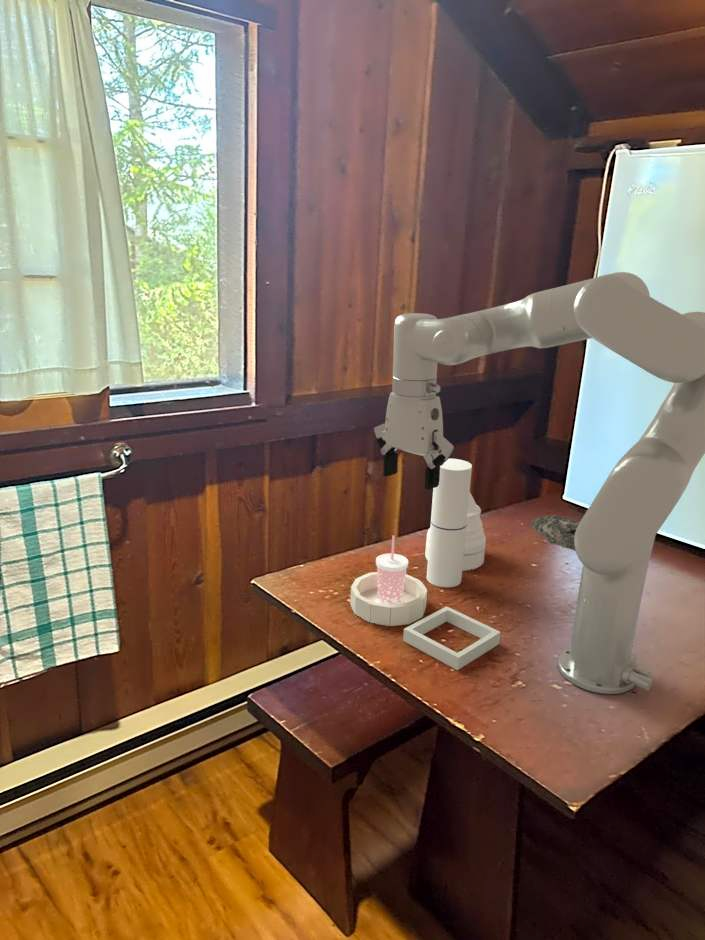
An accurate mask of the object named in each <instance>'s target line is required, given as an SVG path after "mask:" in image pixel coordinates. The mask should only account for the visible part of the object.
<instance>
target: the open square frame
mask: <svg viewBox="0 0 705 940" xmlns="http://www.w3.org/2000/svg"><path fill="white" fill-rule="evenodd" d="M446 622H447V623H449V624H450V625H453V626H454V627H457V628H459V629H461V630H463V631H465V632H467V633H469V634H470V635H473V636H475V637H477V638H479V639H478V640H477V641H475V642H474V643H471V644H470V645H468V646H467V647H465V648H464V649H462V650H460V651H458V652H457V651H454V650H452V649H450V648H449V647H447V646H444V645H443V644H441V643H439V642H437V641H436V640H434V639H431V638H430V637H428V636H426V635H424V634H426V633H428V632H430V631H432V630H433V629H436V628H438V627H439V626H441V625H443V624H445V623H446ZM501 634H502V633H501V631H499V630H497V629H495V628H493V627H491V626H489V625H487V624H484V623H482V622H481V621H478V620H477V619H474V618H472V617H470V616H467V615H465V614H464V613H461V612H459V611H458V610H456V609H453V608H451V607H449V606H444V607H442V608H441V609H439V610H437V611H435V612H433V613H431V614H430V615H427V616H425V617H424V618H423V617H422V618H421V619H419V620H417V621H415V622H414V623H413V624H412V623H411V624H409V625H407V627H405V628H403V636H402V637H403V638H402V641H403V642H405V643H407V644H409V645H410V646H412V647H413V648H416V649H417V650H419V651H421V652H423V653H425V654H427V655H428V656H430V657H433V659H436V660H438V661H439V662H442V663H443V664H445V665H446V666H449V667H450V668H453V670H456V671H459V670H460V669H462V668H464V667H465V666H467V665H469V664H470V663H471V662H473V661H475V660H476V659H478V658H479V657H481V656H482V655H484V654H486V653H487V652H489V651H490V650H492V649H493V648H496V647H497V646H498V645H499V644H500V643H501V642H500V641H501V640H500V639H501Z"/></svg>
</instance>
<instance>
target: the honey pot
mask: <svg viewBox="0 0 705 940" xmlns="http://www.w3.org/2000/svg"><path fill="white" fill-rule="evenodd" d="M481 514H482V509H481V506H479V505H477V503H476V501H475V499H474V497H473V495H472V493H471V492H470V493H469V504H468V515H467V525H466V536H465V547H464V557H463V568H462V572H463V571H471V569H472V570H475V569H477V568H479V567H481V566H482V565H483V564H484V561H485V555H486V554H485V552H486V544H487V543H486V542H487V537H486V535H485V529H484V528H483V527H484V526H483V525H484V524H483V521H482V520H481V516H480V515H481ZM429 539H430V528H428V530H427V533H426V539H425V540H426V542H425V552H424V554H425V555H424V556H425V559H426V560H427V561H428V552H429Z"/></svg>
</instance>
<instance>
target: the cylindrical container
mask: <svg viewBox="0 0 705 940" xmlns="http://www.w3.org/2000/svg"><path fill="white" fill-rule="evenodd" d="M472 470H473V465H472V463H470V462H469V461H466V460H465V459H464V460H463V459H459V458H449V459H448V460H447V461H446V462H444V464H443V465H442V466H440V480H439V485H438V487H435V488H432V490H433V491H432V500H431V501H432V503H431V514H430V527H429V529H430V539H429V552H428V560H427V567H426V581H428V583H430V584H431V585H433V586H436V587H439V588H453V587H457V586H459V585H460V584H461V583H462V579H463V578H462V577H463V571H462V568H463V557H464V547H465V536H466V525H467V515H468V504H469V493H471V480H472Z"/></svg>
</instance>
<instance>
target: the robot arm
mask: <svg viewBox="0 0 705 940" xmlns="http://www.w3.org/2000/svg"><path fill="white" fill-rule="evenodd" d="M648 288H649V287H648V286H647V284H646V282H645V281H644V280H643V279H642V278H641V277H639V276H638V275H636V274H634V273H631V272H625V271H619V272H618V271H617V272H613V273H608V274H604V275H599V276H596V277H593V278H589V279H584V280H581V281H578V282H577V281H576V282H574V283H569V284H566V285H561V286H558V287H554V288H549V289H544V290H542V291H541V290H540V291H537V292H533V293H531V294H529V295H527V296H525V297H524V298H522V299H520V300H516V301H514V302H510V303H506V304H502V305H498V306H495V307H494V306H493V307H491V308H487V309H482V310H479V311H478V310H477V311H473V312H468V313H465V314H463V313H462V314H459V315H455V316H450V317H447V318H439V319H438V317H436V316H435V315H433V314H429V313H423V312H422V313H421V312H420V313H419V312H417V313H416V312H410V313H401V314H400V315H398V316H396V318H395V320H394V326H393V354H392V356H393V357H392V358H393V359H392V383H391V384H392V386H391V387H392V390H391V392H390V394H389V397H388V401H387V406H386V413H385V422H384V423H382V424H379V425H377V426H375V427H374V428H373V431H374V434H375V437H376V438H377V440H376V444H378V447H380V453H381V455H383V471H382V475H383V476H384V477H385V478H386V477H390V476H393V475H396V474H397V473H398V465H399V464H398V463H399V462H398V461H399V454H398V452H397V451H396V450H399V451H404V452H406V453H407V452H408V453H410V454H413V455H417V456H423V459H424V461H425V463H426V464H427V467H426V468H425V472H424V474H425V475H424V489H425V490H427V491H430V490H433V488H435V487H438V485H439V480H440V466H442V465H443V464H444V462H446V461H447V460H448V459H450V456H451V454H452V453H453V450H454V449H455V448H454V445H453V444H452V443H451V442H450V441H449V440H448V439H446V437H445V436H444V421H443V409H442V403H441V397H440V396H437V394H439V392H441V386H440V385H439V384H437V376H438V375H437V372H438V364H440V365H444V366H445V365H446V366H455V365H456V366H457V365H459V364H462V363H466V362H468V361H470V360H473V359H476V358H480V357H482V356H486V355H491V354H494V353H500V352H504V351H509V350H513V349H514V350H515V349H520V348H527V347H533V348H535V349H536V348H537V349H548V348H551V347H552V348H553V347H557V346H561V345H567V344H570V343H576V342H580V341H585V340H590V339H593V340H594V341H596V342H598V343H599V344H601V345H602V346H603V347H605V348H608V350H610V351H611V352H613V353H615V354H617V355H619V356H620V357H622V358H623V359H625V360H627V361H628V362H631V363H632V364H634V365H635V366H637V367H638V368H641V370H643V371H645V372H647V373H649V374H650V375H652V376H654V377H656V378H658V379H660V380H663V381H665V382H669V383H672V384H673V385H672V387H671V389H670V391H669V392H668V394H667V396H666V397H665V398H664V400H663V401H662V403H661V405H660V407H659V408H658V410H657V413H656V414H655V416H654V417H653V419H652V421H650V424H649V425H648V427H647V428H646V430H645V431H644V432H643V434H642V436H641V437H640V438H639V440H638V441H637V442H635V444H634V445H632V446H631V448H629V449H628V450H627V452H625V454H624V455H623V456H622V457H621V458H620V459H619V460H618V462H617V463H616V464H615V465H614V467H613V468H612V470H611V472H610V473H609V474H608V476H607V478H606V479H605V481H604V482H603V484H602V486H601V488H600V489H599V491H598V492H597V494H596V496H595V498H593V500H592V502H591V504H590V505H589V506H588V508H587V510H586V512H585V514H584V515H583V516H582V518H581V520H580V521H579V522H578V523H579V525H578V527H577V529H576V532H575V536H574V546H575V553H576V556H577V558H578V559H579V561H580V563H581V564H582V569H581V576H580V582H579V587H578V593H577V594H578V595H577V601H576V606H575V614H574V621H573V627H572V633H571V640H570V646H569V647H568V648H566V649H565V650H563V651H562V652H561V653H560V655H559V657H558V662H557V667H558V670H559V672H560V673H561V675H562V676H563V677H564V678H565V679H566V680H568V681H569V682H570V683H572V684H573V685H574V686H577V687H579V688H581V689H583V690H586V691H589V692H593V693H597V694H604V695H616V694H623V693H625V692H628V691H630V690H632V689H633V688H634V687H635V686H636V687H637V688H641V689H643V690H644V691H647V692H648V691H650V689H651V688H652V685H653V683H654V681H653V679H652V678H651V677H652V671H650V670H648V669H645V667H644V668H643V667H641V666H639V664H638V663H637V657H638V654H636V653H634V652H632V650H633V647H634V643H635V642H634V641H635V636H636V635H635V634H636V630H637V626H638V625H637V624H638V620H639V619H638V618H639V613H640V609H641V608H640V607H641V602H642V598H643V595H644V594H643V593H644V589H645V583H646V577H647V573H648V568H649V564H650V560H651V555H652V551H653V547H654V543H655V539H656V535H657V534H658V532H659V531H660V529H662V526H663V525H664V523H665V522H666V521H667V519H668V517H669V516H670V515H671V514H672V511H673V510H674V508H675V507H676V505H677V504H678V502H679V501H680V499H681V498H682V496H683V494H684V493H685V491H686V488H688V485H689V483H690V481H691V479H692V476H693V473H694V471H695V469H696V468H697V466H698V465H699V463H700V461H701V460H702V459H703V457H704V455H705V311H704V312H703V311H692V312H691V311H689V312H685V313H680V312H678V311H677V310H674V309H673V308H671V307H669V306H667V305H665V304H663V303H662V302H660V301H659V300H657V299H655V298H653V297H651V294H650V291H649V289H648Z"/></svg>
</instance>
